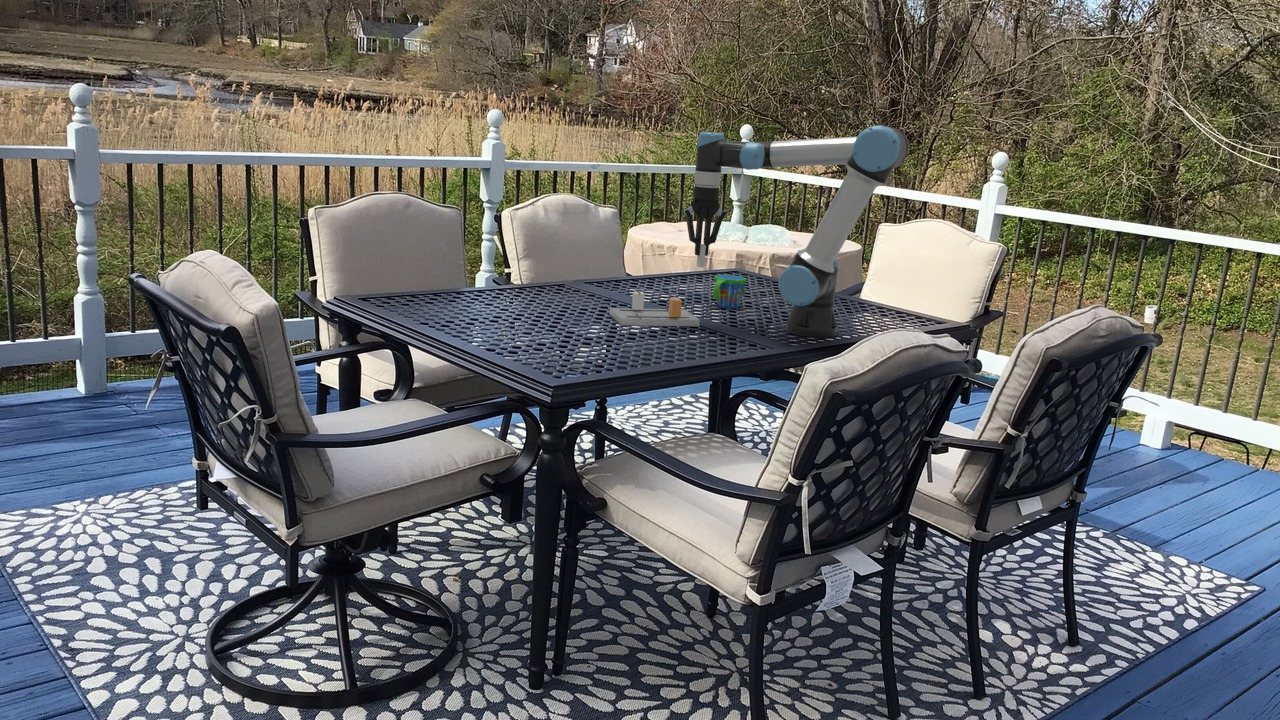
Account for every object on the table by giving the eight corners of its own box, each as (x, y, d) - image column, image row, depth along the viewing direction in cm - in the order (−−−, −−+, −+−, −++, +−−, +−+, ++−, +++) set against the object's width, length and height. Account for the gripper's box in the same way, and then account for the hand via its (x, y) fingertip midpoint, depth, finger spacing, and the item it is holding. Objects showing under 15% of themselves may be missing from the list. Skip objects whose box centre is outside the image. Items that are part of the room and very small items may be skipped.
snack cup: (731, 302, 336) (733, 273, 334) (755, 308, 329) (757, 278, 327) (700, 306, 326) (702, 276, 323) (724, 312, 319) (726, 281, 316)
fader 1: (643, 310, 299) (644, 292, 298) (634, 309, 299) (635, 292, 297) (640, 307, 303) (641, 290, 302) (631, 307, 302) (632, 290, 301)
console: (699, 326, 293) (699, 319, 292) (621, 325, 287) (621, 318, 286) (684, 315, 308) (684, 308, 308) (609, 314, 303) (609, 307, 302)
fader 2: (680, 317, 292) (682, 299, 291) (671, 317, 291) (672, 299, 290) (677, 314, 296) (678, 297, 294) (668, 314, 295) (669, 297, 294)
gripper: (724, 186, 291) (717, 265, 297) (681, 184, 288) (675, 263, 294) (732, 188, 284) (725, 269, 290) (689, 186, 281) (682, 267, 287)
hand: (700, 266), depth 292 cm, fingers closed
